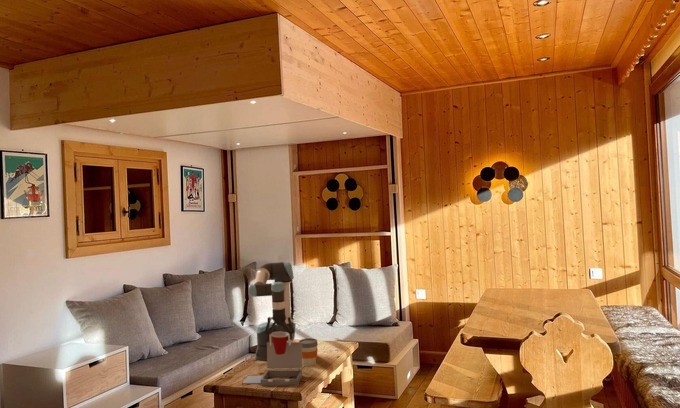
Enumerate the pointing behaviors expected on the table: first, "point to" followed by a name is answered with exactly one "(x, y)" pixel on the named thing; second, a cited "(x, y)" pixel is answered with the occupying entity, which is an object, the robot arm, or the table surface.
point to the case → (281, 381)
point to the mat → (252, 380)
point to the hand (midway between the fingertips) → (280, 344)
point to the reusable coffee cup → (309, 351)
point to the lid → (285, 357)
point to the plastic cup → (279, 342)
